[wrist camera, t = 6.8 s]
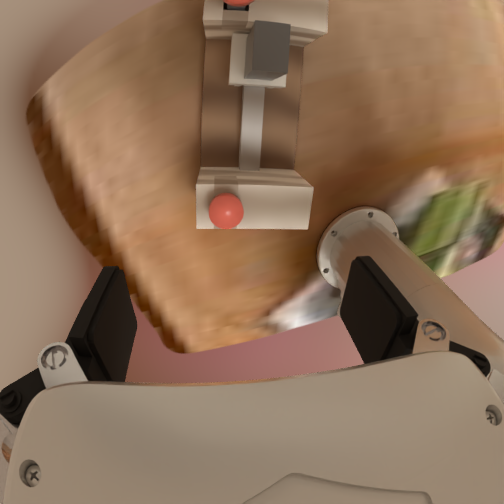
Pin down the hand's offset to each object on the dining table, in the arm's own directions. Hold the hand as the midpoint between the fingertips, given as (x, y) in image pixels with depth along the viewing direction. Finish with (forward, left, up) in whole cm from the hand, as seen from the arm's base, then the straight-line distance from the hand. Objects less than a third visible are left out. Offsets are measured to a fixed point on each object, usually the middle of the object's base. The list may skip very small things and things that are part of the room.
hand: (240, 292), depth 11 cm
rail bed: (+7, -2, -22) cm, 24 cm away
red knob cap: (-2, 0, -15) cm, 16 cm away
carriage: (+12, -2, -20) cm, 24 cm away
